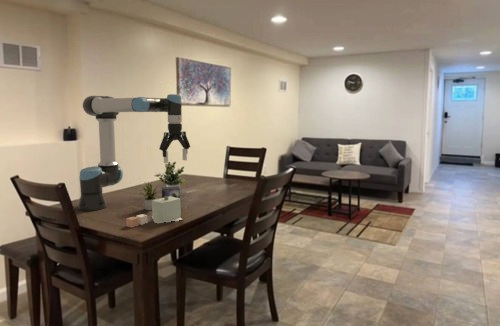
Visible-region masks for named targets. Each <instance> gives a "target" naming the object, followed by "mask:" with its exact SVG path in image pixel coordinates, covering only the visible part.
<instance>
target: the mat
mask: <svg viewBox="0 0 500 326" xmlns="http://www.w3.org/2000/svg"><path fill="white" fill-rule="evenodd" d="M151 218H152V220H153V222H154V224H155V223H157V224H164V222H161V221H158V220H154V219H153V217H152V216H151ZM179 220H183V218H182V216H181V217H179V218H175V219H172V220H169V221H165V222H166V223H172V222H171V221H175V222H180V221H179Z"/></svg>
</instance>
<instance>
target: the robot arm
mask: <svg viewBox="0 0 500 326" xmlns="http://www.w3.org/2000/svg"><path fill="white" fill-rule="evenodd" d="M182 104H183V101H182V96H181V94H173V93H172V94H171V93H170V94H167V97H165V98H164V97H163V98H161V97H145V96H137V97H113V96H109V95H106V96H105V95H89V96H87V97H85V98H84V100H83V101H82V109H83V111H84V112H85V113H86V114H87V115H89V116H93V117H95V120H96V121H97V122H98V133H99V134H98V137H99V156H100V158H99V159H100V162H98V164H97V165H96V166H87V167H84V168H82V169H81V170H80V171H79V177H78V178H79V184H80V185H79V186H80V187H79V188H80V189H79V190H80V197H79V201H78V204H77V208H78V209H77V210H79V211H84V212H85V211H86V212H87V211H88V212H89V211H99V210H102V209H105V208H107V201H106V199H105V197H104V194H103V188H106V187H109V186H114V185H117V184H119V183H120V182H121V181H122V179H123V177H124V176H123V174H124V173H123V169H122V168H121V166H119V163H118V161H116V141H115V140H116V139H115V138H116V137H115V136H116V135H115V121H116V120H117V116H118V115H119V113H163V112H164V113H167V130H168V132H167V131H165V132H163V137H162V140H161V143H160V145H159V147H158V148H159V150H160V151H162V157H163V163H164V164H168V163H169V151H168V149H169V147H170V146H171V144H172V142H173V141H178V142H179V143H180V145H181V146H182V149H181V150H182V151H181V152H182V161H188V160H187V159H188V150H189V149H190V148H191V145H190V142H189V139H188V137H187V133H186V132H187V131H184V130H183V123H182V122H183V118H182V117H183V115H182ZM182 130H183V131H182Z"/></svg>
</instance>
